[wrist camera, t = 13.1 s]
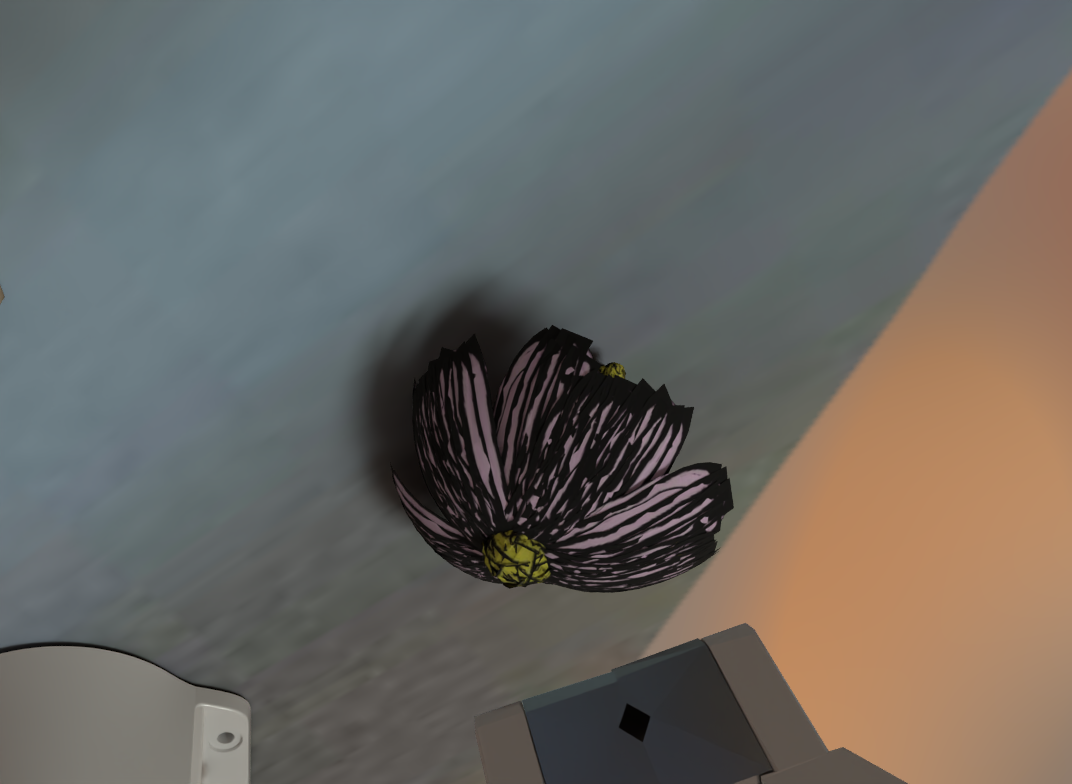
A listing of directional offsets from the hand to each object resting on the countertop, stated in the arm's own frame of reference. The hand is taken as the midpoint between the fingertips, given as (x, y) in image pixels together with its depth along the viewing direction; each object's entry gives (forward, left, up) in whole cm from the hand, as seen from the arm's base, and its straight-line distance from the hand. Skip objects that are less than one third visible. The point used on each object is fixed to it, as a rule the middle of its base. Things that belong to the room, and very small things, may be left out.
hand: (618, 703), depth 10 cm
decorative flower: (-16, -6, -30) cm, 34 cm away
